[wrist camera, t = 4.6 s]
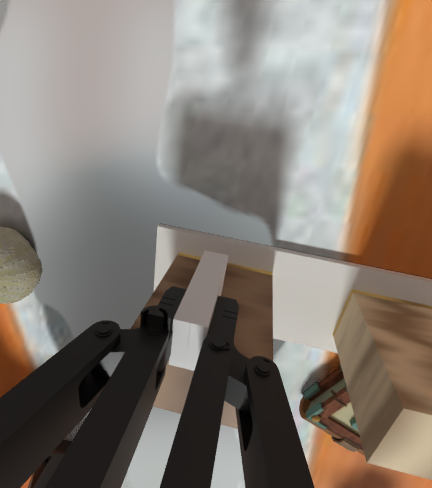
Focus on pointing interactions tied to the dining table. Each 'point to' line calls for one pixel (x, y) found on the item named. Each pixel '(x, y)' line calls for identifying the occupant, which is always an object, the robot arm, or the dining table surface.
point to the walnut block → (246, 333)
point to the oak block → (389, 378)
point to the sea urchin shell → (17, 266)
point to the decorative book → (332, 411)
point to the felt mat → (295, 282)
